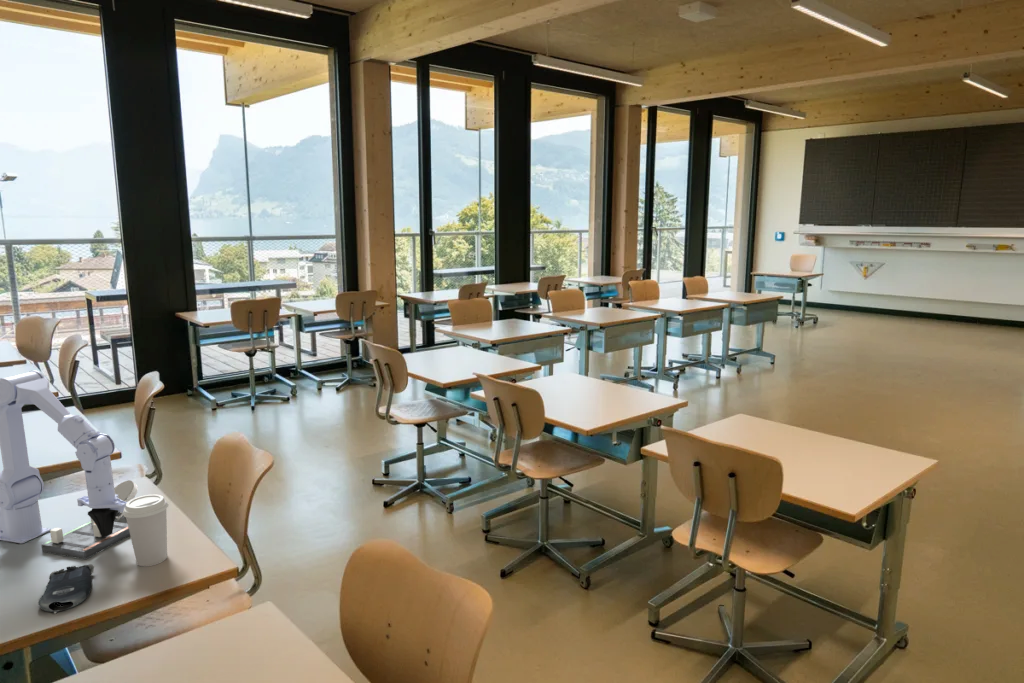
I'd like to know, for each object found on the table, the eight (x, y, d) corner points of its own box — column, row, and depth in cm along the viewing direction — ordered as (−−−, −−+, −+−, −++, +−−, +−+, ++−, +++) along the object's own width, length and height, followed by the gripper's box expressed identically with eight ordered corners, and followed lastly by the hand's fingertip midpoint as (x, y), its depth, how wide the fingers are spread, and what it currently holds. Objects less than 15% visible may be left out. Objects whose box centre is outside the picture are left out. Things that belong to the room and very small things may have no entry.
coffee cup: (126, 573, 155) (118, 512, 153) (132, 554, 164) (124, 497, 162) (172, 564, 159) (165, 505, 156) (175, 547, 168) (169, 490, 165)
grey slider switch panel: (42, 551, 167) (41, 544, 166) (96, 525, 181) (95, 518, 180) (85, 559, 162) (83, 551, 162) (136, 532, 176) (135, 524, 176)
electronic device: (46, 592, 151) (34, 617, 138) (47, 567, 151) (36, 590, 138) (94, 586, 156) (88, 610, 142) (95, 562, 156) (89, 583, 142)
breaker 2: (91, 523, 177) (89, 511, 176) (96, 520, 178) (95, 509, 178) (97, 524, 176) (95, 512, 176) (102, 521, 178) (100, 510, 177)
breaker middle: (94, 536, 170) (92, 523, 169) (99, 533, 171) (97, 520, 170) (100, 537, 169) (98, 524, 168) (105, 534, 170) (104, 521, 170)
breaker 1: (51, 542, 167) (49, 530, 166) (57, 539, 168) (56, 527, 168) (57, 543, 166) (55, 531, 165) (63, 540, 168) (61, 528, 167)
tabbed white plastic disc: (89, 508, 190) (108, 470, 192) (117, 515, 195) (135, 478, 198) (106, 524, 179) (126, 484, 182) (135, 530, 185) (154, 491, 188)
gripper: (136, 480, 168) (142, 531, 171) (92, 475, 173) (99, 524, 175) (111, 491, 162) (118, 544, 164) (66, 485, 166) (74, 536, 169)
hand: (107, 534), depth 169 cm, fingers closed
